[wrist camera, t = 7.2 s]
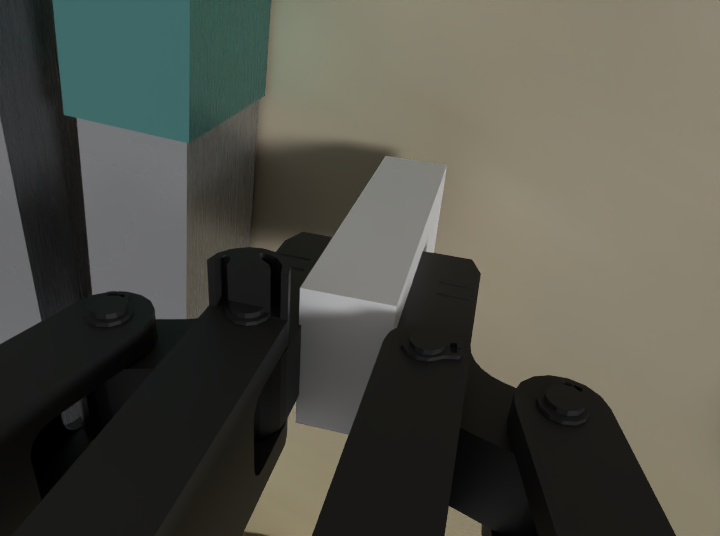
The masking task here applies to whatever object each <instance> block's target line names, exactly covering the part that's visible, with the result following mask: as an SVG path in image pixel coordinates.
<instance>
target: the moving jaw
mask: <svg viewBox="0 0 720 536" xmlns="http://www.w3.org/2000/svg"><path fill="white" fill-rule="evenodd" d="M52 1H53V11H54V22H55V32H56V42H57V52H58V62H59V72H60V82H61V92H62V102H63V112H64V115H66V116H71V117H75V118H77V128H78V139H79V150H80V161H81V173H82V184H83V195H84V207H85V218H86V229H87V240H88V252H89V263H90V274H91V286H92V295H95V294H100V293H106V292H109V291H117V292H119V291H124V292H131V293H135V294H140V295H142V296H144V297H145V298H147V299H149V300H150V301H151V302H152V304H153V307H154V309H155V317H156V319H194V318H198V317H199V316H200V315H201V314H202V313H203V312H204V310H205V309H206V308H207V307H208V306H209V292H208V272H207V259H209V258H210V257H212V256H213V255H215V254H216V253H219V252H222V251H225V250H229V249H234V248H244V247H250V238H251V222H252V206H253V189H254V173H255V157H256V140H257V124H258V108H259V99H261V98H262V97H264V96H265V85H266V69H267V54H268V39H269V24H270V9H271V0H52Z"/></svg>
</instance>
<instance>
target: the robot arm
mask: <svg viewBox="0 0 720 536" xmlns="http://www.w3.org/2000/svg"><path fill="white" fill-rule="evenodd" d="M446 169H447V165H444V164H437V163H431V162H424V161H417V160H411V159H404V158H397V157H391V156H385V157H384V159H383V161H382V162H381V164H380V165H379V167H378V168H377V170H376V171H375V173H374V174H373V176H372V178H371V179H370V181H369V182H368V184H367V185H366V187H365V188H364V190H363V191H362V193H361V194H360V196H359V198H358V199H357V201H356V202H355V204H354V205H353V207H352V208H351V210H350V211H349V213H348V215H347V216H346V218H345V219H344V221H343V222H342V224H341V225H340V227H339V228H338V230H337V232H336V233H335V235H334V236H333V237H329V236H324V235H318V234H312V233H306V232H302V233H300V234H297V235H295V236H293V237H291V238H289V239H287V240H285V241H284V243H283V244H282V245H281V246H280V248H279V249H278V250H277V251H276V252H273V251H270V250H266V249H263V248H251V247H244V248H234V249H229V250H225V251H222V252H219V253H216V254H215V255H213V256H212V257H210V258H209V259H207V272H208V292H209V306H208V307H207V308H206V309H205V310H204V312H203V313H202V314H201V315H200V316H199V317H198V318H194V319H156V317H155V309H154V307H153V304H152V302H151V301H150V300H149V299H147V298H145V297H144V296H142V295H140V294H135V293H131V292H124V291H119V292H117V291H109V292H106V293H100V294H95V295H92V296H89V297H87V298H84V299H82V300H80V301H77V302H76V303H74V304H72V305H70V306H68V307H67V308H65V309H63V310H61V311H59V312H57V313H56V314H54V315H52V316H50V317H48V318H47V319H45V320H43V321H41V322H39V323H37V324H36V325H34V326H32V327H30V328H28V329H27V330H25V331H23V332H21V333H19V334H17V335H16V336H14V337H12V338H10V339H8V340H7V341H5V342H3V343H1V344H0V536H242V534H243V532H244V530H245V528H246V525H247V523H248V521H249V519H250V517H251V515H252V513H253V511H254V509H255V506H256V504H257V502H258V500H259V498H260V496H261V494H262V492H263V490H264V488H265V485H266V483H267V481H268V479H269V477H270V475H271V473H272V471H273V469H274V466H275V464H276V462H277V460H278V458H279V456H280V454H281V452H282V450H283V447H284V445H285V442H286V437H287V418H288V416H289V414H290V412H291V410H292V408H293V406H294V404H295V402H296V423H301V424H305V425H309V426H314V427H318V428H322V429H327V430H331V431H335V432H340V433H344V434H348V435H349V436H348V438H347V441H346V444H345V447H344V449H343V452H342V455H341V457H340V460H339V463H338V466H337V468H336V471H335V474H334V477H333V479H332V482H331V485H330V488H329V490H328V493H327V496H326V499H325V501H324V504H323V507H322V510H321V512H320V515H319V518H318V521H317V523H316V526H315V529H314V531H313V534H312V536H444V535H445V528H446V521H447V514H448V507H449V506H450V507H452V508H454V509H456V510H458V511H460V512H461V513H463V514H465V515H467V516H469V517H470V518H472V519H474V520H476V521H478V522H479V523H481V524H482V536H676V535H675V533H674V531H673V529H672V527H671V525H670V523H669V521H668V519H667V517H666V515H665V513H664V511H663V509H662V507H661V506H660V504H659V502H658V500H657V498H656V496H655V494H654V492H653V490H652V488H651V486H650V484H649V482H648V480H647V478H646V476H645V474H644V472H643V470H642V469H641V467H640V465H639V463H638V461H637V459H636V457H635V455H634V453H633V451H632V449H631V447H630V445H629V443H628V441H627V439H626V437H625V435H624V433H623V432H622V430H621V428H620V426H619V424H618V422H617V420H616V418H615V416H614V414H613V412H612V410H611V409H610V407H609V406H608V405H607V403H606V402H605V401H604V400H603V398H602V397H601V396H600V395H598V394H597V393H595V392H594V391H593V390H591V389H590V388H588V387H587V386H585V385H583V384H580V383H578V382H575V381H573V380H571V379H568V378H563V377H557V376H551V375H547V376H534V377H531V378H529V379H527V380H525V381H522V382H521V383H520V384H519V386H518V387H517V388H514V387H512V386H510V385H508V384H505V383H503V382H501V381H499V380H497V379H496V378H494V377H492V376H490V375H489V374H488V373H486V372H485V371H484V370H482V369H481V368H480V366H479V365H478V364H477V363H476V362H475V360H474V358H473V356H472V354H471V346H470V344H471V337H472V330H473V324H474V317H475V310H476V303H477V296H478V289H479V282H480V275H481V274H480V272H479V270H478V269H477V267H476V265H475V264H474V262H473V261H472V260H471V259H465V258H459V257H454V256H448V255H442V254H437V253H434V249H435V242H436V235H437V229H438V222H439V215H440V209H441V202H442V195H443V189H444V182H445V175H446ZM76 402H78V404H79V409H80V415H81V416H80V417H79V418H78V419H76V420H75V421H73V422H71V423H69V424H67V425H64V423H63V420H62V416H61V413H62V412H64V411H65V410H67V409H68V408H69V407H71V406H72V405H74V404H75V403H76Z"/></svg>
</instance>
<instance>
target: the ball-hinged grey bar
mask: <svg viewBox="0 0 720 536" xmlns="http://www.w3.org/2000/svg"><path fill="white" fill-rule="evenodd" d="M89 296H92V286H91V274H90V263H89V252H88V240H87V229H86V218H85V207H84V195H83V184H82V173H81V161H80V150H79V139H78V128H77V118H75V117H71V116H66V115H64V112H63V102H62V92H61V82H60V72H59V62H58V52H57V42H56V32H55V22H54V11H53V1H52V0H0V344H1V343H3V342H5V341H7V340H8V339H10V338H12V337H14V336H16V335H17V334H19V333H21V332H23V331H25V330H27V329H28V328H30V327H32V326H34V325H36V324H37V323H39V322H41V321H43V320H45V319H47V318H48V317H50V316H52V315H54V314H56V313H57V312H59V311H61V310H63V309H65V308H67V307H68V306H70V305H72V304H74V303H76V302H77V301H80V300H82V299H84V298H87V297H89ZM61 416H62V420H63V423H64V425H67V424H69V423H71V422H73V421H75V420H76V419H78V418H79V417H80V416H81V415H80V409H79V404H78V402H76V403H75V404H74V405H72V406H71V407H69V408H68V409H67V410H65V411H64V412H62V413H61Z"/></svg>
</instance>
